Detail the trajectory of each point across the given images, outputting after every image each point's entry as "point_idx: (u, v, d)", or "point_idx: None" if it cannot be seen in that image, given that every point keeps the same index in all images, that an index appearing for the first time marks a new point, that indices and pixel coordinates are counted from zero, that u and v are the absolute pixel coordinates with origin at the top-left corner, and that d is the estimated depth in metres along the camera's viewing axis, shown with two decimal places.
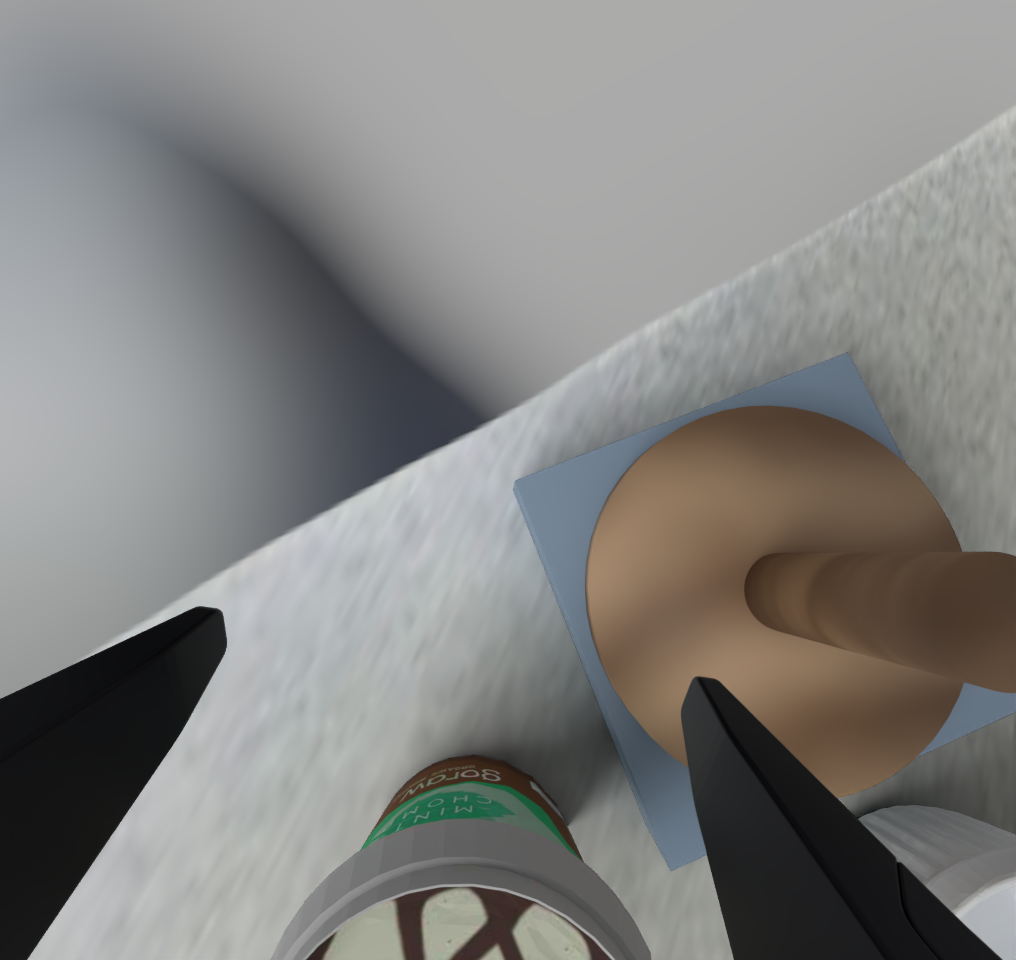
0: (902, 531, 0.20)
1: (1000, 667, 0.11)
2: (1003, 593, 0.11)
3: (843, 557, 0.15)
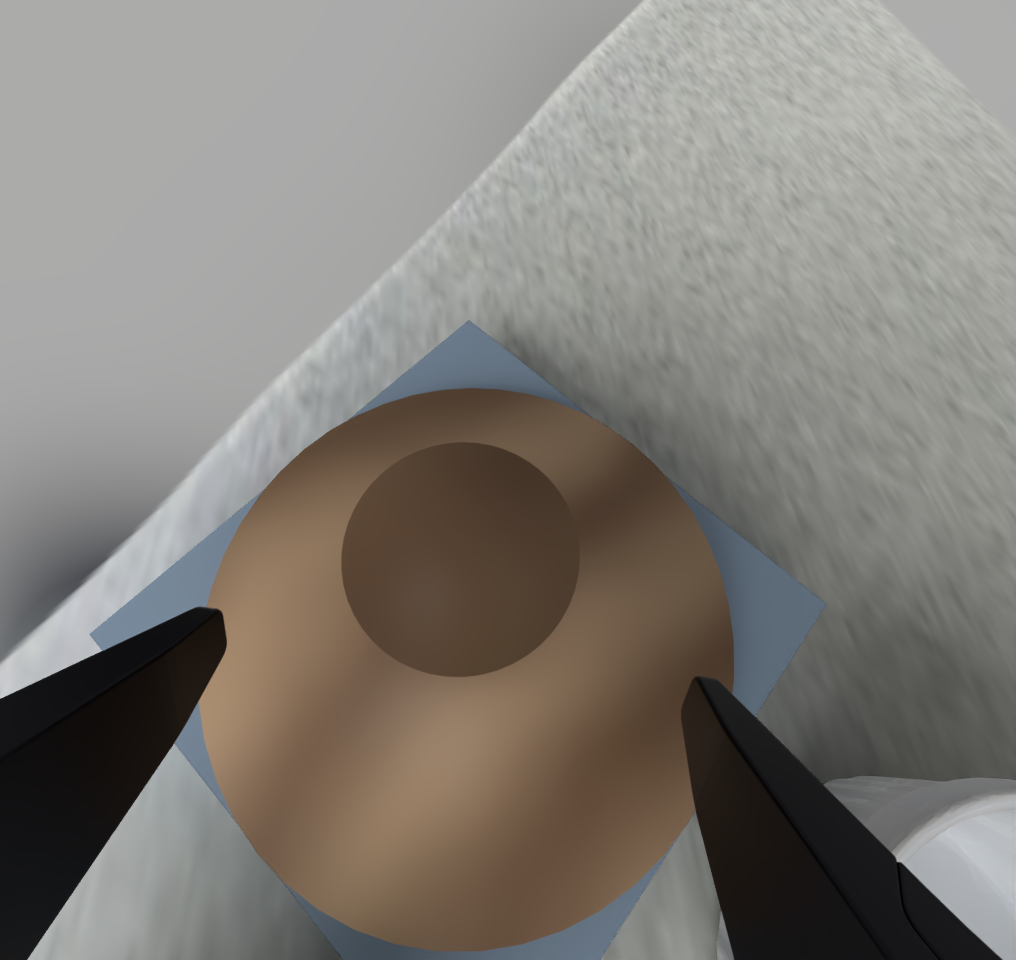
0: (586, 476, 0.17)
1: (482, 627, 0.06)
2: (454, 504, 0.07)
3: None
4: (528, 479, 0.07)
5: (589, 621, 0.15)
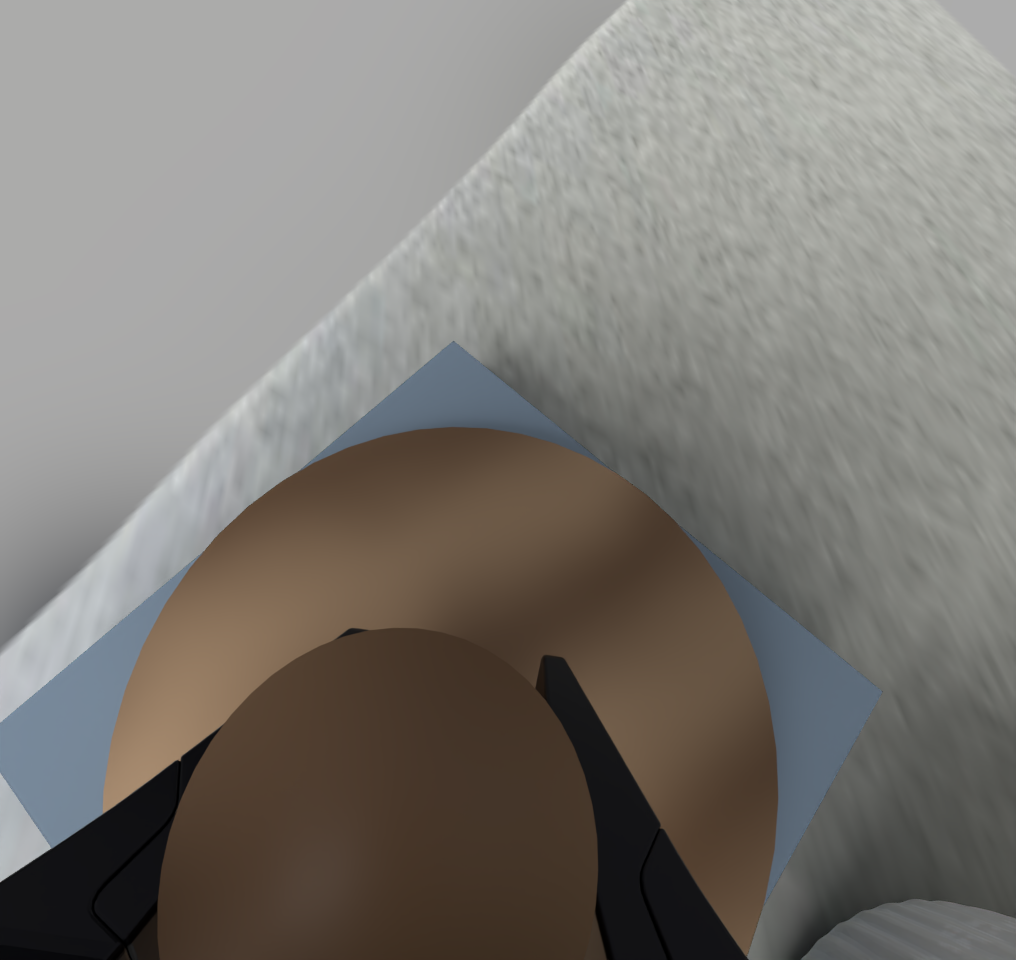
0: (592, 537, 0.14)
1: None
2: (376, 754, 0.04)
3: None
4: (508, 699, 0.04)
5: None
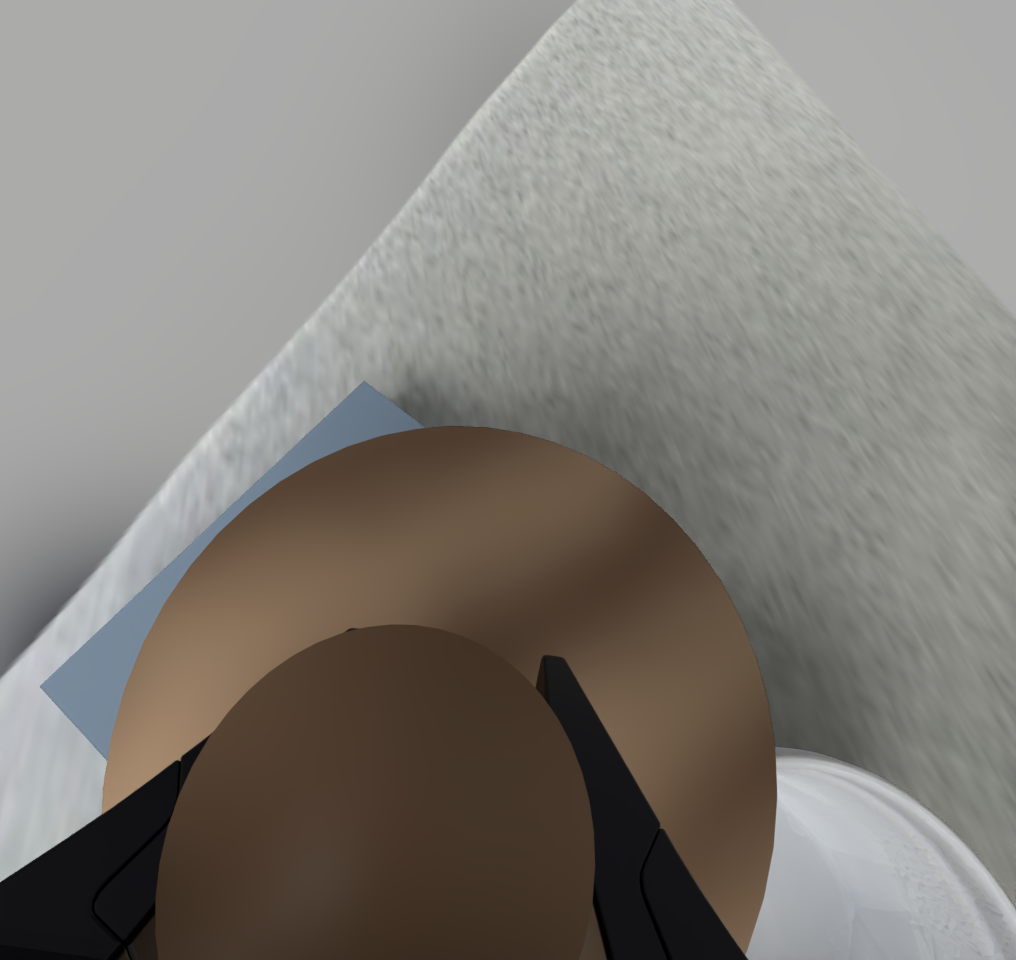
0: (591, 536, 0.14)
1: None
2: (373, 750, 0.04)
3: None
4: (504, 695, 0.04)
5: None
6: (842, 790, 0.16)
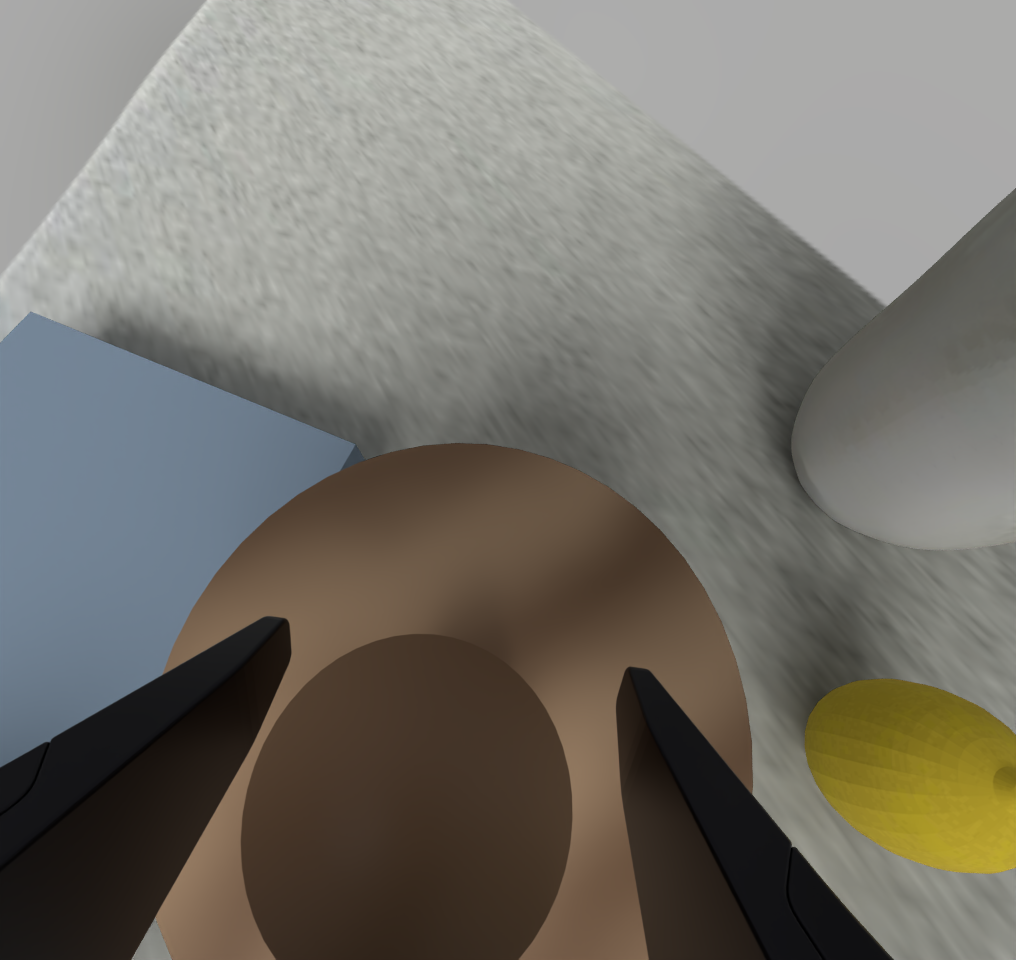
0: (584, 547, 0.15)
1: (434, 934, 0.04)
2: (402, 732, 0.05)
3: None
4: (504, 689, 0.05)
5: (588, 721, 0.13)
6: None
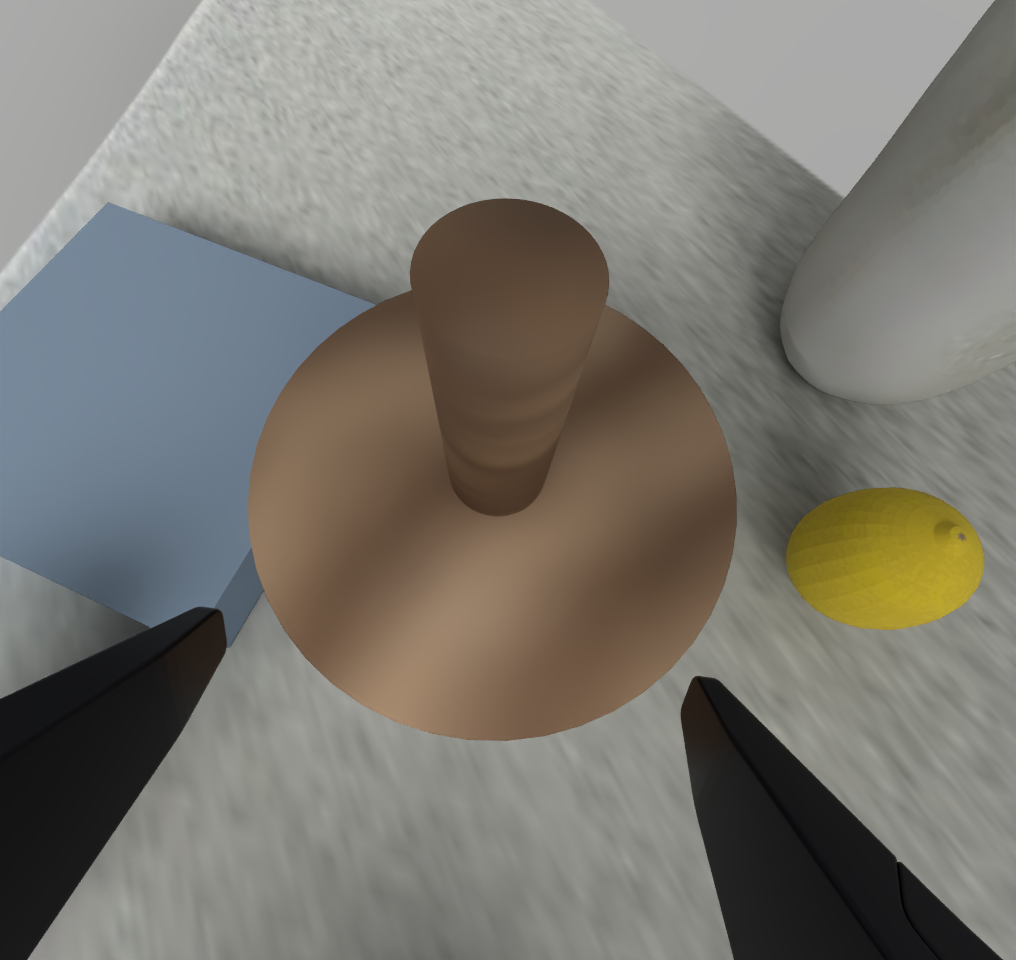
0: (600, 355, 0.18)
1: (528, 325, 0.07)
2: (502, 242, 0.08)
3: None
4: (564, 225, 0.08)
5: (603, 477, 0.16)
6: None
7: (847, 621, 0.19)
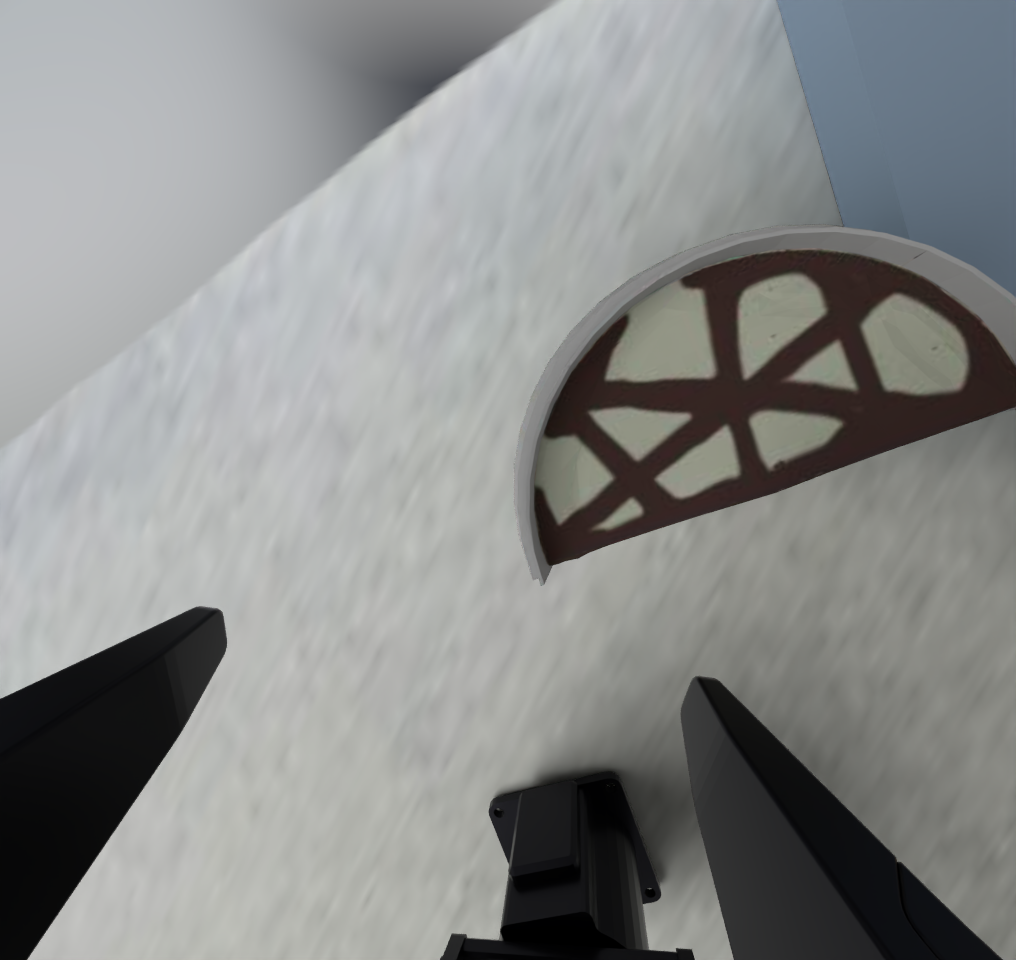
0: None
1: None
2: None
3: None
4: None
5: None
6: None
7: None
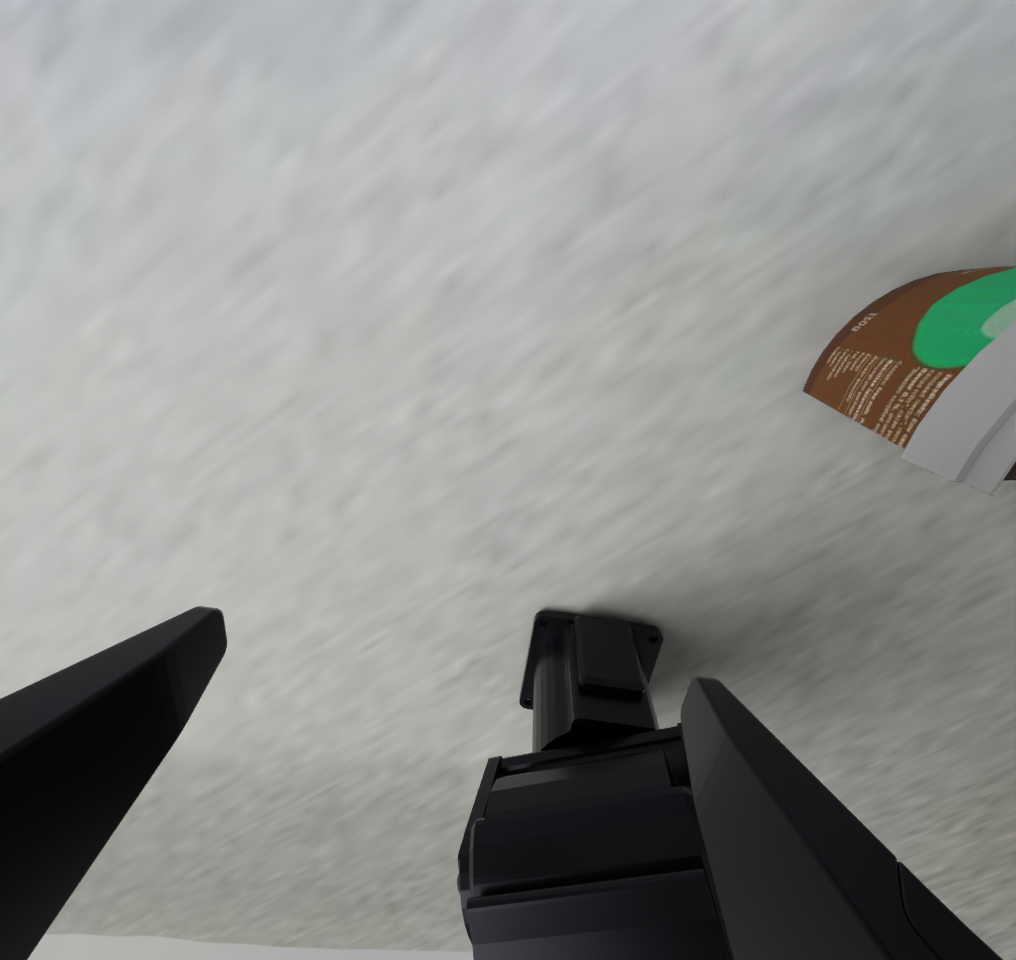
0: None
1: None
2: None
3: None
4: None
5: None
6: None
7: None
